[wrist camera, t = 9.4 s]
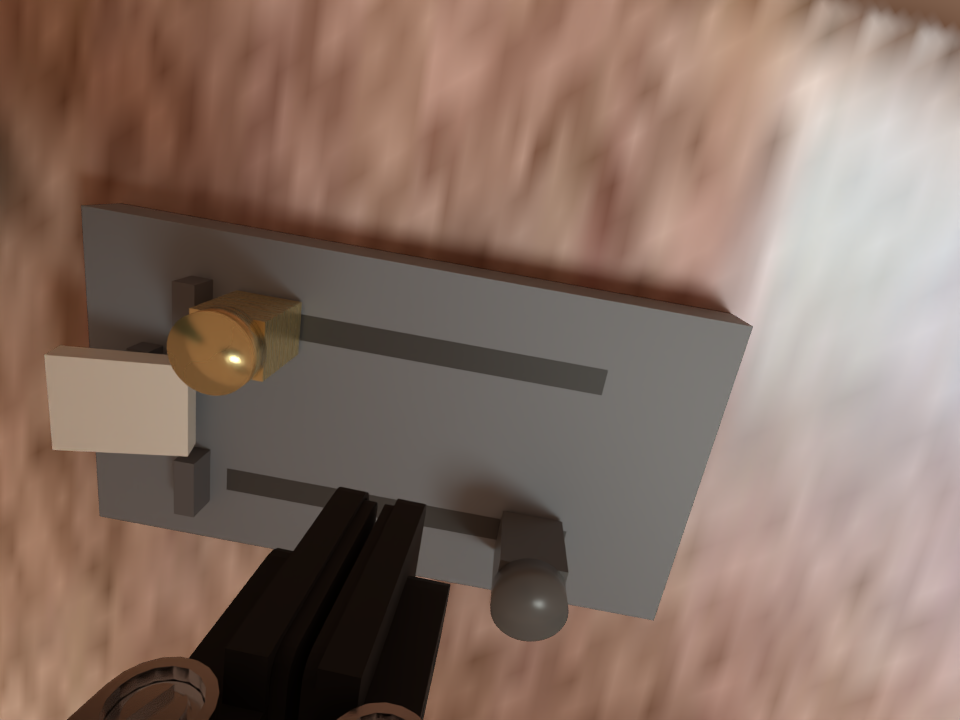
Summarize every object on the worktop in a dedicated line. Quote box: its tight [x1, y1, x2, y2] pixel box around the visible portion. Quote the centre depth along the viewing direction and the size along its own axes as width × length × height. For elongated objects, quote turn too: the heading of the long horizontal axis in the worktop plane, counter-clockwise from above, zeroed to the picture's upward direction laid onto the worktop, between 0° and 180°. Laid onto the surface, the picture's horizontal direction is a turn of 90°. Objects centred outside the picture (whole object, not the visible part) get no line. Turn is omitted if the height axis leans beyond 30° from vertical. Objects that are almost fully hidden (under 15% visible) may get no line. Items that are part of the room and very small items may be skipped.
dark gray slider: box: [490, 511, 569, 641], centre depth 20 cm, size 3×3×4 cm
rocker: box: [44, 345, 196, 456], centre depth 20 cm, size 4×4×1 cm
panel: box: [81, 203, 753, 620], centre depth 22 cm, size 24×13×3 cm, turn 80°
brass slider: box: [167, 290, 302, 396], centre depth 18 cm, size 3×3×4 cm
